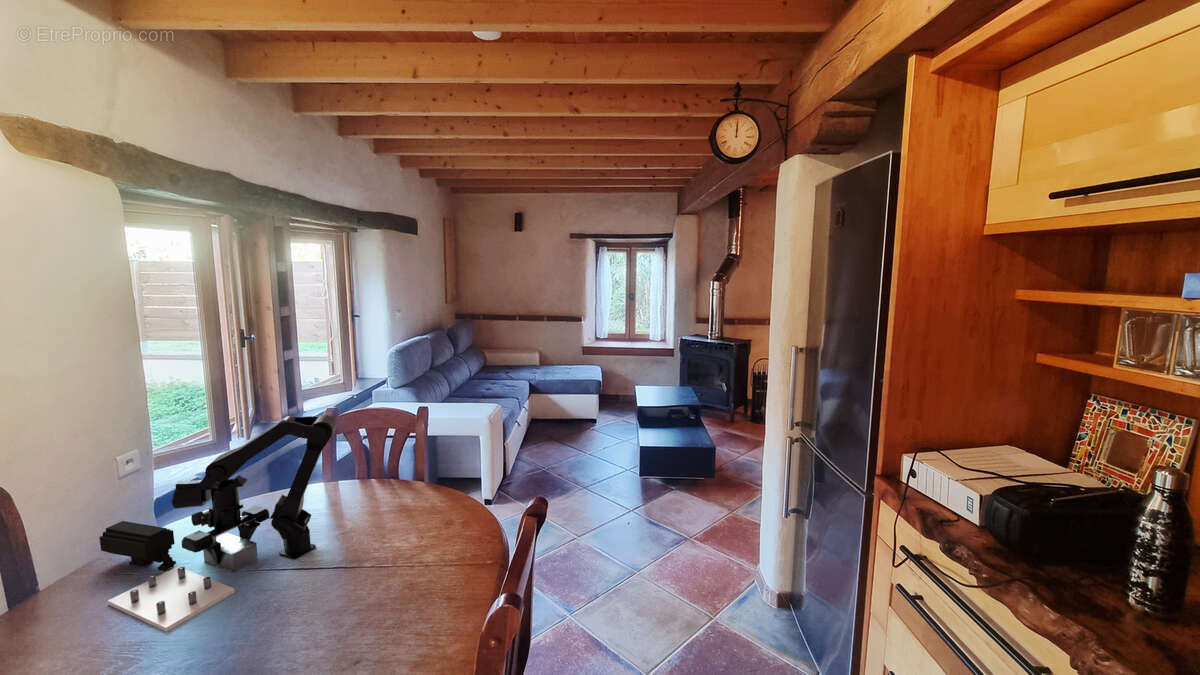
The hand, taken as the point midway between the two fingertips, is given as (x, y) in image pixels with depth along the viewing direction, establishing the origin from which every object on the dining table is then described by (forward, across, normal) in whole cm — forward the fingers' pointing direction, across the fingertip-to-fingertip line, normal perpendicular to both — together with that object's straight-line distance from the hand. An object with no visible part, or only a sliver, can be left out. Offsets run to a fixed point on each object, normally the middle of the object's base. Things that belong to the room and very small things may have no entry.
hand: (230, 556), depth 130 cm
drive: (+1, 0, 0) cm, 1 cm away
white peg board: (+1, +15, +3) cm, 15 cm away
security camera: (+1, +10, -19) cm, 21 cm away
